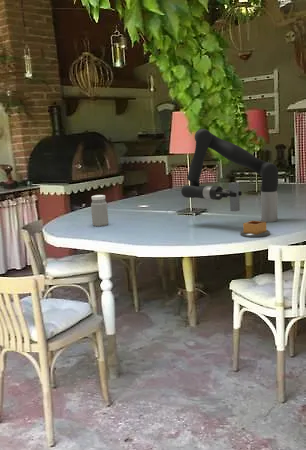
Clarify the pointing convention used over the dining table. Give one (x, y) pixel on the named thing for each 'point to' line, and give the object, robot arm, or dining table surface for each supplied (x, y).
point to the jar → (99, 210)
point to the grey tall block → (234, 200)
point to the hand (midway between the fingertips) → (238, 194)
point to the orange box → (254, 229)
